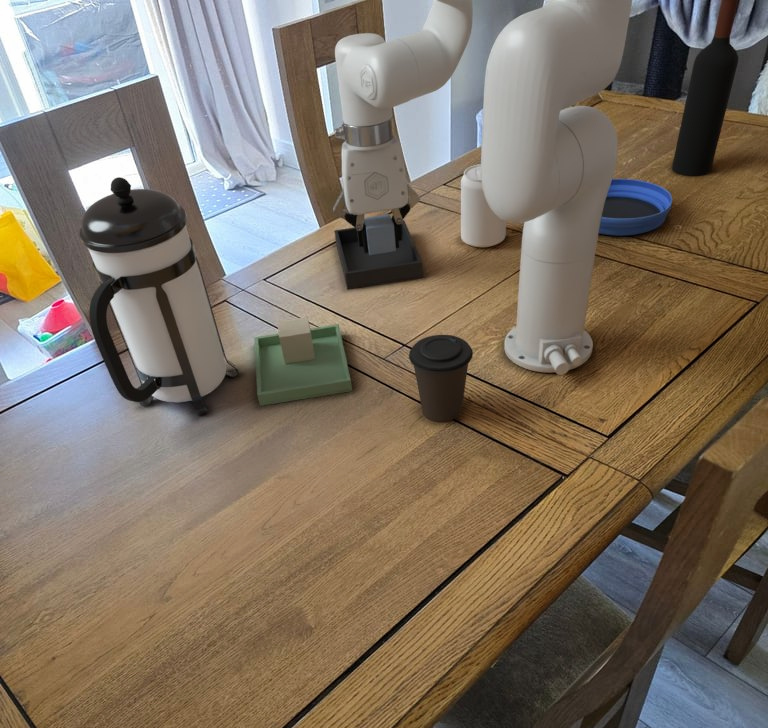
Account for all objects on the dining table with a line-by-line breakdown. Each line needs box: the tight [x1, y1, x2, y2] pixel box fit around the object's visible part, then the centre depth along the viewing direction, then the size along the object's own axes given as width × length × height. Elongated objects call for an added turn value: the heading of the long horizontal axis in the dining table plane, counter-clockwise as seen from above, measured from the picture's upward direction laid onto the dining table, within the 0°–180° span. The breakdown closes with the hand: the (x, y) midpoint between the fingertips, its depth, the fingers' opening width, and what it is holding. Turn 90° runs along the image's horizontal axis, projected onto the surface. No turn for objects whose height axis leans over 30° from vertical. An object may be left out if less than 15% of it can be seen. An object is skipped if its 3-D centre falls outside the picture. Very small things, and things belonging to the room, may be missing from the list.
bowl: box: [598, 178, 673, 237], centre depth 128 cm, size 18×18×4 cm
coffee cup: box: [408, 334, 474, 423], centre depth 90 cm, size 8×8×10 cm
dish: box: [253, 323, 353, 407], centre depth 103 cm, size 15×13×2 cm
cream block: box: [277, 316, 315, 364], centre depth 104 cm, size 5×5×5 cm
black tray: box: [334, 219, 424, 290], centre depth 124 cm, size 17×13×3 cm
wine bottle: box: [671, 0, 739, 177], centre depth 131 cm, size 8×8×30 cm
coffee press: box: [79, 177, 239, 416], centre depth 90 cm, size 17×16×30 cm
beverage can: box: [460, 163, 507, 248], centre depth 123 cm, size 8×8×12 cm
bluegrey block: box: [364, 213, 396, 255], centre depth 118 cm, size 5×5×5 cm
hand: (380, 246), depth 119 cm, fingers closed on bluegrey block, 4 cm apart
